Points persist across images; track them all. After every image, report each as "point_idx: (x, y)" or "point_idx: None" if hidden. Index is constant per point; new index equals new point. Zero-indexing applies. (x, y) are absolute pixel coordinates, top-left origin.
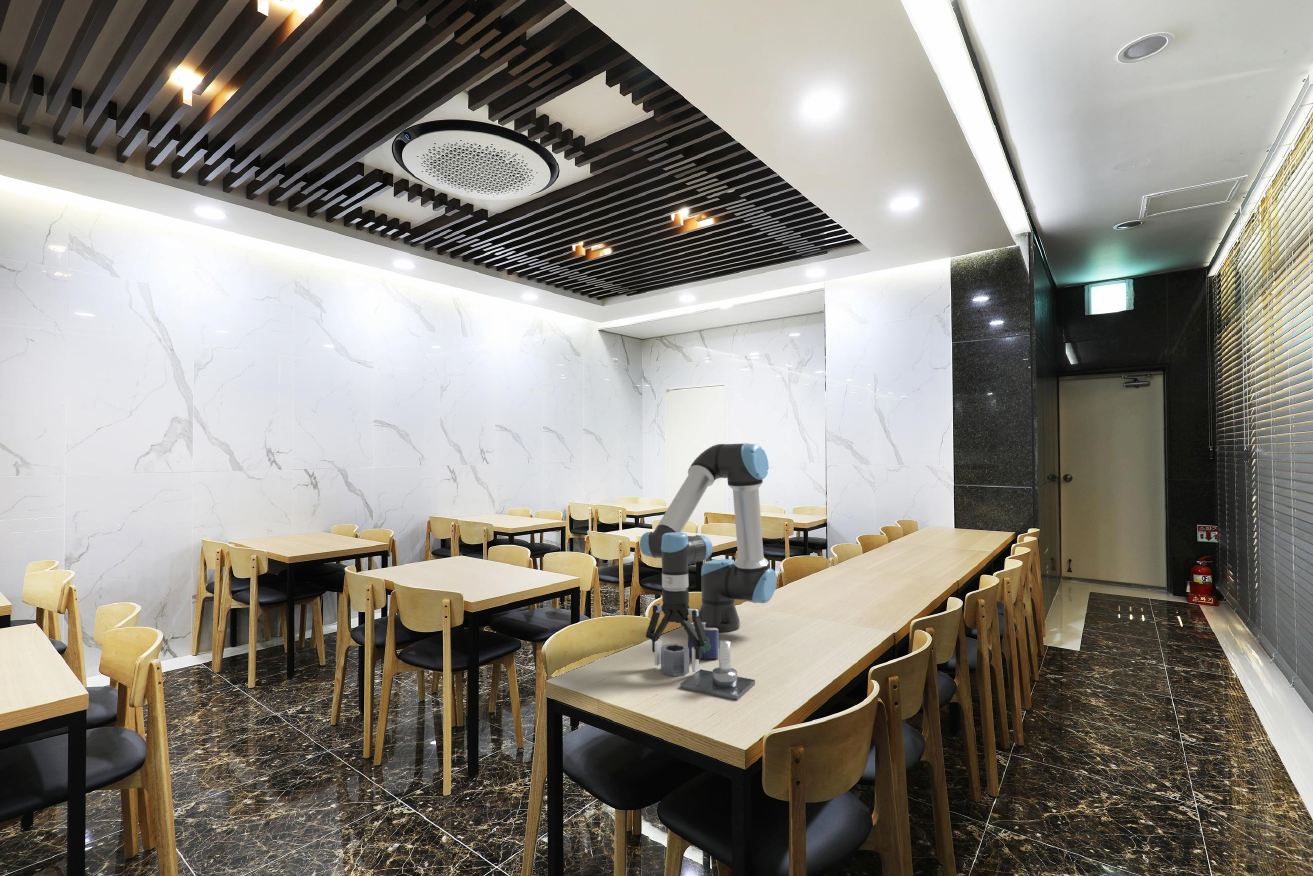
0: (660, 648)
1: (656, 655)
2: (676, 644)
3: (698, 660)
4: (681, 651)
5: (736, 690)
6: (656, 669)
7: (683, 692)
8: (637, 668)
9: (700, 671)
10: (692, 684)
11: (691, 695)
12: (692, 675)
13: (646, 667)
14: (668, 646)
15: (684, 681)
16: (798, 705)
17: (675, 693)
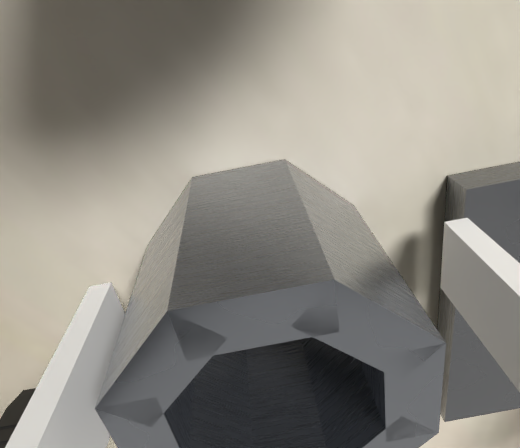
0: (72, 408)
1: None
2: (198, 335)
3: (515, 267)
4: (408, 441)
5: None
6: (126, 308)
7: (468, 417)
8: (21, 368)
9: (484, 227)
10: (512, 397)
11: (517, 416)
12: (459, 314)
13: (43, 325)
14: (167, 419)
15: (453, 396)
16: None
17: (438, 440)
